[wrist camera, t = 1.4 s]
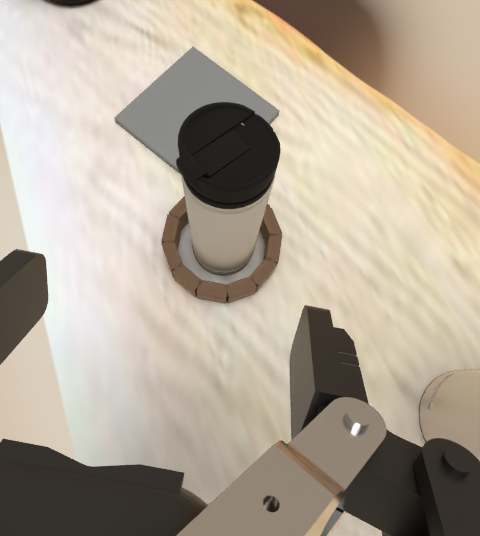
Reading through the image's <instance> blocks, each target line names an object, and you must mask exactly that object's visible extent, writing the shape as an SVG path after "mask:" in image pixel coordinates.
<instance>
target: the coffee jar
mask: <svg viewBox="0 0 480 536" xmlns="http://www.w3.org/2000/svg"><path fill="white" fill-rule="evenodd" d="M51 1H53V2H56V3H58V4H64V5H79V4H84V3H87V2H90V1H92V0H51Z"/></svg>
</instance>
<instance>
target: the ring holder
mask: <svg viewBox="0 0 480 536" xmlns="http://www.w3.org/2000/svg"><path fill="white" fill-rule="evenodd" d="M269 208H270V205H268V204H267V206H266V209H265V213H264V216H263V220H262V223H261V227H260V230H261V233H262V235H263V238H264V240H265V243H266V250H265V256H264V261H263V262H262V263H261V265H260V266H259V267H258V268H257V269H256V270H255V272H254V273H253V274H252V275H251V276H250V277H247V278H244V279H241V280H238V281H236V282H233V283H230V284H227V285H226V284H220V283H215V282H209V281H204V280H201V279H199V278H198V277H197V276H196V275H195V274H193V273H192V272H191V271H190V270H189V269H187V268H186V267H185V266H184V265H183V264H182V262H181V259H180V256H179V254H178V251H177V248H178V244H179V239H180V235H181V230H182V229H183V227H184V226H185V225H186V224H187V223H188V222H189V220H188V213H187V207H186V201H185V196H184V197H183V198H182V199H181V200H180V201H179V202H178V203H177V204H176V205H175V207H174V208H173V209H172V210H171V211H170V212H169V214H170V215H169V214H168V215H167V220H166V224H165V228H164V232H163V237H162V246H163V249H164V252H165V255H166V258H167V261H168V264H169V267H170V270H171V272H172V275H173V277H174V279H175V280H176V281H177V282H178V283H179V284H181V285H182V286H183V287H184V288H185V289H187V290H188V291H189V292H190V293H191V294H192V295H194V296H195V297H197V296H198V298H199V299H204V300H210V301H216V302H221V303H226V299H227V302H228V303H230V302H232V301H235V300H238V299H241V298H244V297H247V296H249V295H252V294H254V293H255V292H257V291H258V290H259V288H260V287H261V286H262V285H263V284H264V282H265V281H266V280H267V279H268V278H269V276H270V275H271V274H272V273H273V271H274V269H275V268H276V266H277V263H278V260H279V254H280V247H281V240H282V235H281V234H282V232H281V229H280V227H279V224H278V222H277V220H276V217H275V215H274V212H273V210H272V208H270V209H269Z"/></svg>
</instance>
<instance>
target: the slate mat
mask: <svg viewBox="0 0 480 536" xmlns="http://www.w3.org/2000/svg"><path fill="white" fill-rule="evenodd" d="M217 102H231V103H237V104H241V105H244V106H246V107H248V108H250V109H251V110H253V111H255V114H257V115H260V116H261V117H262V118H263V119H264V120H266V121H267V122H268V124H270V123H271V122H272V121H273V120H274V119H275V118H276V117H277V116H278V115H279V110H278V109H276V108H275V107H274V106H272V105H271V104H270V103H268V102H267V101H266V100H264V99H263V98H262V97H260V96H259V95H258V94H256V93H255V92H254V91H252V90H251V89H250V88H248V87H247V86H246V85H244V84H243V83H241V82H240V81H239V80H237V79H236V78H235V77H233V76H232V75H231V74H229V73H228V72H227V71H225V70H224V69H223V68H221V67H220V66H219V65H217V64H216V63H215V62H213V61H212V60H210V59H209V58H208V57H206V56H205V55H204V54H202V53H201V52H200V51H198V50H197V49H196V48H194V47H192V48H191V49H190V50H189V51H188V52H186V53H185V54H184V55H183V56H182V57H181V58H180V59H179V60H178V61H177V62H175V63H174V64H173V65H172V66H171V67H170V68H169V69H168V70H167V71H165V72H164V73H163V74H162V75H161V76H160V77H159V78H158V79H157V80H156V81H154V82H153V83H152V84H151V85H150V86H149V87H148V88H147V89H146V90H145V91H143V92H142V93H141V94H140V95H139V96H138V97H137V98H136V99H135V100H133V101H132V102H131V103H130V104H129V105H128V106H127V107H126V108H125V109H124V110H122V111H121V112H120V113H119V114H118V115H117V116H116V117H115V121H116V123H118V124H119V125H120V126H121V127H123V128H124V129H125V130H126V131H128V132H129V133H130V134H131V135H133V136H134V137H135V138H136V139H138V140H139V141H140V142H141V143H143V144H144V145H145V146H146V147H148V148H149V149H150V150H151V151H153V152H154V153H155V154H156V155H158V156H159V157H160V158H161V159H163V160H164V161H165V162H166V163H168V164H169V165H170V166H171V167H173V168H174V169H175V170H176V171H178V172H179V170H178V168H177V165H176V160H177V158H179V150H178V134H179V130H180V127H181V126H182V124H183V122H184V120H185V119H186V118H187V117H188V116H189V115H190V114H191V113H192V112H194V111H195V110H196V109H198V108H200V107H202V106H205V105H208V104H212V103H217ZM179 173H180V172H179ZM180 174H181V173H180Z"/></svg>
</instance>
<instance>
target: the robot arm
mask: <svg viewBox="0 0 480 536" xmlns="http://www.w3.org/2000/svg"><path fill="white" fill-rule="evenodd" d="M47 304H48V285H47V270H46V259H45V257H44V255H43V254H39V253H34V252H29V251H24V250H18V249H16V250H14V251H13V252H11V253H10V254H9V255H7V256H6V257H5V258H3V260H1V261H0V364H1V363H2V362H3V361H4V360H5V359H6V358H7V357H8V355H9V354H10V353H11V352H12V351H13V350H14V348H15V347H16V346H17V345H18V344H19V343H20V341H21V340H22V339H23V338H24V337H25V336H26V335H27V333H28V332H29V331H30V330H31V329H32V328H33V326H34V325H35V324H36V323H37V322H38V321H39V319H40V318H41V317H42V316H43V314H44V312H45V310H46V307H47ZM290 399H291V436H292V441H291V442H290V443H288V444H286V443H284V442H283V441H279V442H277V443H276V444H274V445H273V446H272V447H271V448H270V449H269V450H268V451H267V452H266V453H264V454H263V455H262V456H261V457H260V458H259V459H258V460H257V461H256V462H255V463H254V464H253V465H252V466H250V467H249V468H248V469H247V470H246V471H245V472H244V473H243V474H242V475H241V476H240V477H239V478H238V479H236V480H235V481H234V482H233V483H232V484H231V485H230V486H229V487H228V488H227V489H226V490H225V491H224V492H223V493H221V494H220V495H219V496H218V497H217V498H216V499H215V500H214V501H213V502H212V503H211V504H210V505H209V506H208V505H207V504H206V503H205V502H204V501H203V500H201V499H200V498H199V497H197V496H196V495H194V494H193V493H191V492H190V491H188V490H186V489H184V488H182V484H183V478H184V473H182V472H177V471H172V470H166V469H161V468H156V467H150V466H145V465H120V466H100V467H90V466H86V465H83V464H81V463H79V462H77V461H75V460H73V459H71V458H69V457H67V456H65V455H63V454H61V453H59V452H57V451H55V450H52V449H50V448H48V447H44V446H39V445H34V444H28V443H23V442H18V441H12V440H7V439H3V440H2V441H1V442H0V536H330V534H331V533H332V531H333V530H334V529H335V527H336V526H337V524H338V523H339V522H340V520H341V519H342V517H343V516H344V515H345V513H346V512H347V513H349V514H351V515H353V516H355V517H357V518H359V519H361V520H363V521H365V522H366V523H368V524H370V525H372V526H374V527H376V528H378V529H380V530H382V536H480V369H479V370H461V371H453V372H448V373H445V374H443V375H440V376H439V377H438V378H436V379H435V380H434V381H432V383H431V384H430V385H429V386H428V387H427V389H426V391H425V393H424V395H423V397H422V400H421V404H420V416H419V418H420V424H421V429H422V432H423V435H424V438H425V440H426V443H425V444H424V446H423V448H422V447H420V446H418V445H415V444H413V443H411V442H409V441H407V440H404V439H402V438H400V437H398V436H396V435H394V434H393V433H391V432H389V431H388V430H387V429H386V425H385V422H384V420H383V418H382V417H381V415H380V414H379V413H378V412H377V411H376V410H375V409H374V408H373V407H371V406H370V405H369V404H368V400H367V396H366V391H365V387H364V383H363V379H362V375H361V371H360V367H359V362H358V358H357V357H356V350H355V346H354V342H353V340H352V339H351V338H350V336H349V335H348V334H347V332H346V331H345V330H344V329H340V328H335V327H333V324H332V319H331V313H330V310H328V309H322V308H317V307H312V306H307V305H305V306H304V308H303V311H302V314H301V318H300V321H299V324H298V328H297V331H296V334H295V338H294V341H293V345H292V349H291V354H290Z"/></svg>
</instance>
